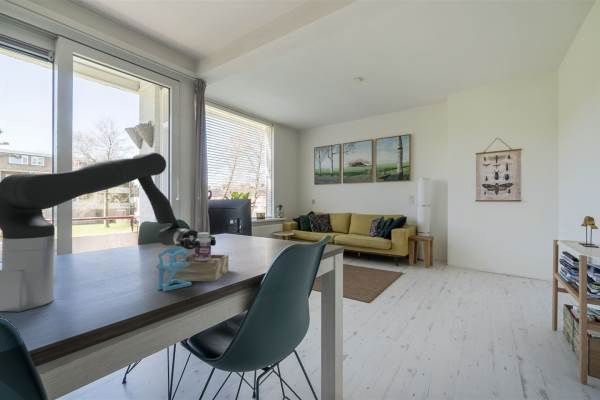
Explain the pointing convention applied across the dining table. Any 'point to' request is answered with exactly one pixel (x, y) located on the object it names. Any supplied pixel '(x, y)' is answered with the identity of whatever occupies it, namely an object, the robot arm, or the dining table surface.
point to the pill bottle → (203, 247)
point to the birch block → (203, 269)
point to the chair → (172, 269)
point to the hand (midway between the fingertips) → (206, 243)
